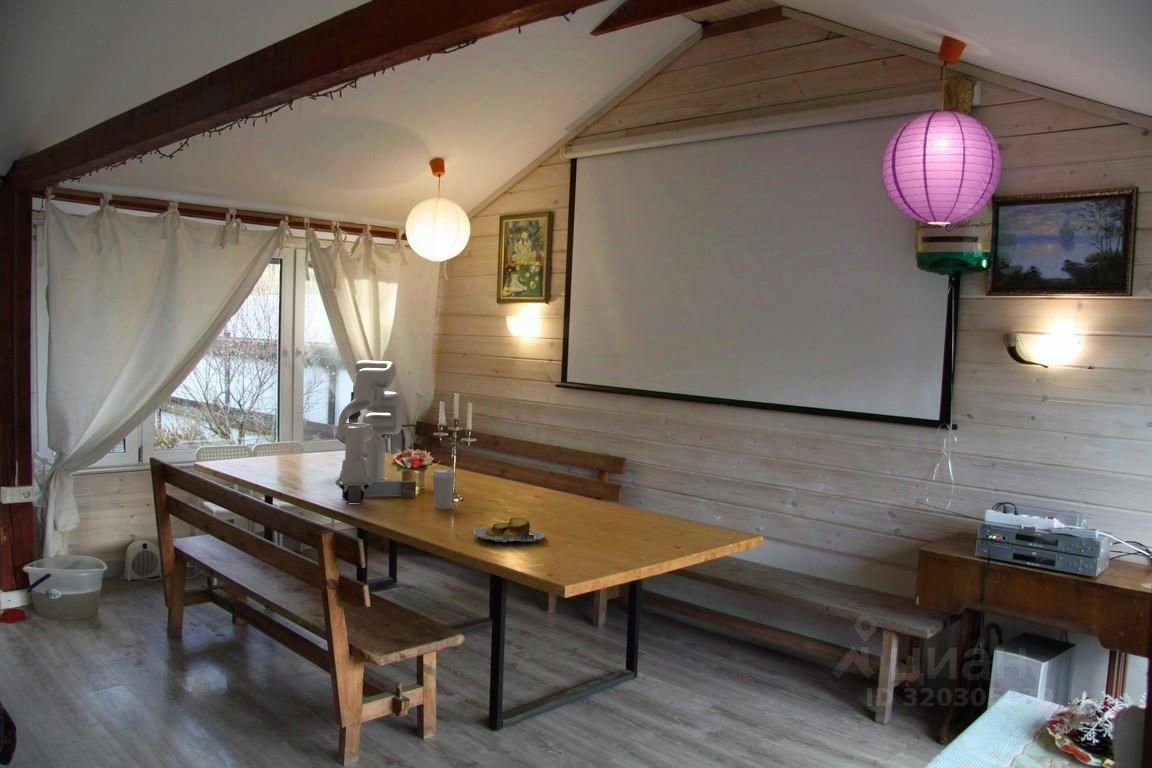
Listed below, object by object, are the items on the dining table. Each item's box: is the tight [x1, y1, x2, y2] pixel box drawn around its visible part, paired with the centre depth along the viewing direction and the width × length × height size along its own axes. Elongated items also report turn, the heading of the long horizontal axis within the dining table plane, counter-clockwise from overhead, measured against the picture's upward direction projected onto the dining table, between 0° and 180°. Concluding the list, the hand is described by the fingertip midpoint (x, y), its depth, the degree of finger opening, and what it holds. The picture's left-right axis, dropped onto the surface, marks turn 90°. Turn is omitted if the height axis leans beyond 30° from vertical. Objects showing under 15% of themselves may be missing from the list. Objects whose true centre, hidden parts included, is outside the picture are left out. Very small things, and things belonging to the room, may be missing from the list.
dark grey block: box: [346, 484, 362, 504], centre depth 351 cm, size 7×5×7 cm
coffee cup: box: [431, 468, 457, 510], centre depth 348 cm, size 10×10×15 cm
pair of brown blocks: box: [341, 480, 417, 498], centre depth 363 cm, size 2×30×6 cm, turn 108°
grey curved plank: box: [363, 480, 402, 497], centre depth 366 cm, size 2×18×6 cm, turn 108°
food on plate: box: [472, 516, 546, 543], centre depth 302 cm, size 25×25×7 cm
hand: (353, 500), depth 351 cm, fingers closed on dark grey block, 5 cm apart
